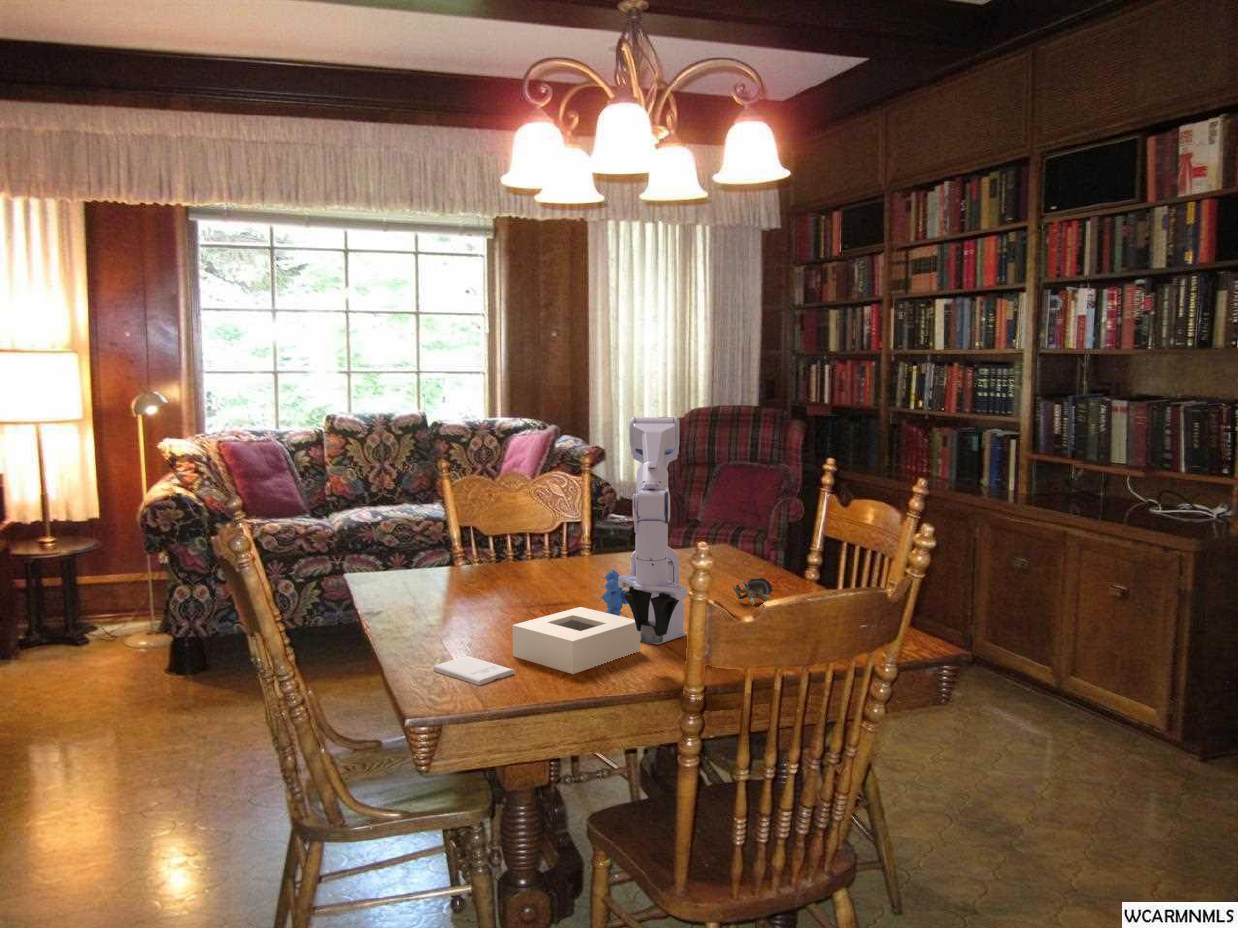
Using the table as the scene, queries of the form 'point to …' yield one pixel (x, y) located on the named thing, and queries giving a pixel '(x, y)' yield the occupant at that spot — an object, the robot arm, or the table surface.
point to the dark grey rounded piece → (649, 633)
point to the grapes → (614, 594)
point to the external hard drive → (473, 670)
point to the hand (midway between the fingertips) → (651, 632)
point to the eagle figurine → (754, 589)
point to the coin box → (575, 639)
